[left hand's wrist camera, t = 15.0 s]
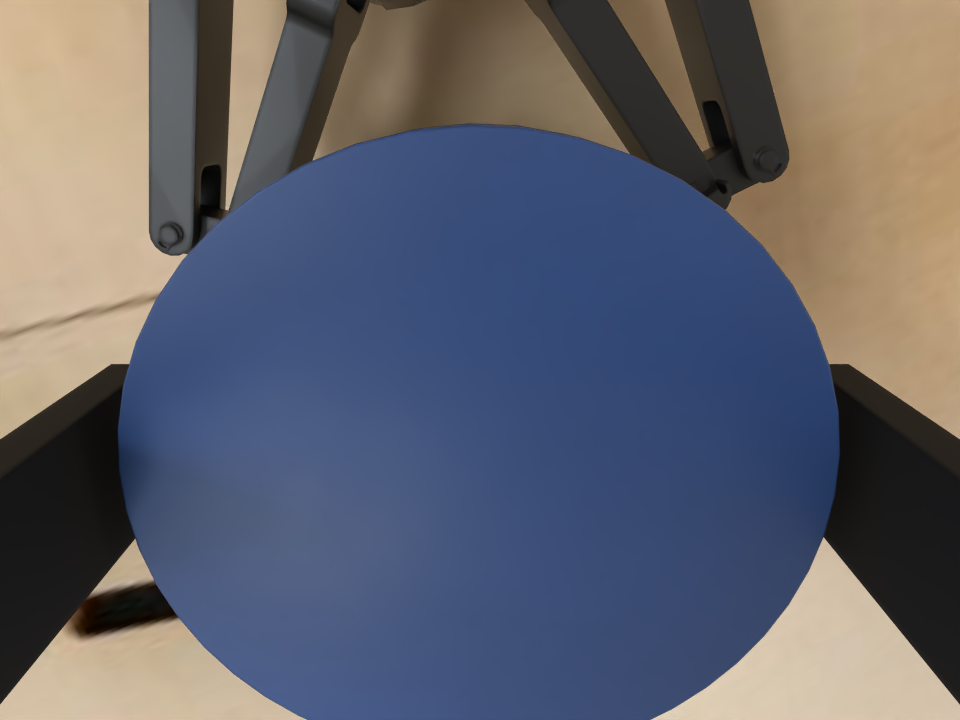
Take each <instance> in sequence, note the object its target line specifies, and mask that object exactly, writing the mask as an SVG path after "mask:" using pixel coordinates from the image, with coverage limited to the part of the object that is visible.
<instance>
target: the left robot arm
mask: <svg viewBox="0 0 960 720" xmlns="http://www.w3.org/2000/svg"><path fill="white" fill-rule="evenodd" d="M829 366H830V370H831V375H832V380H833V386H834V391H835V396H836V401H837V406H838V413H839V442H840V457H839V466H838V475H837V483H836V492H835V497H834V501H833V505H832V508H831V512H830V516H829V519H828V523H827V527H826V531H825V534H824V538H825V539H826V541H827V542H828V543H829V544H830V545H831V547H832V548H833V549H834V550H835V552H836V553H837V554H838V555H839V556H840V558H841V559H842V560H843V561H844V563H845V564H846V565H847V566H848V568H849V569H850V570H851V571H852V572H853V574H854V575H855V576H856V577H857V579H858V580H859V581H860V582H861V584H862V585H863V586H864V587H865V588H866V590H867V591H868V592H869V593H870V595H871V596H872V597H873V598H874V599H875V601H876V602H877V603H878V604H879V606H880V607H881V608H882V609H883V611H884V612H885V613H886V614H887V615H888V617H889V618H890V619H891V620H892V622H893V623H894V624H895V625H896V627H897V628H898V629H899V630H900V631H901V633H902V634H903V635H904V636H905V638H906V639H907V640H908V641H909V642H910V644H911V645H912V646H913V647H914V649H915V650H916V651H917V652H918V654H919V655H920V656H921V657H922V658H923V660H924V661H925V662H926V663H927V665H928V666H929V667H930V668H931V670H932V671H933V672H934V673H935V674H936V676H937V677H938V678H939V679H940V681H941V682H942V683H943V684H944V686H945V687H946V688H947V689H948V690H949V692H950V693H951V694H952V695H953V697H954V698H955V699H956V700H957V701H958V703H959V704H960V439H958V438H957V437H955V436H954V435H952V434H951V433H949V432H948V431H946V430H945V429H944V428H942V427H941V426H939V425H938V424H936V423H935V422H933V421H932V420H930V419H929V418H927V417H926V416H924V415H923V414H921V413H920V412H918V411H917V410H915V409H914V408H913V407H911V406H910V405H908V404H907V403H905V402H904V401H902V400H901V399H899V398H898V397H896V396H895V395H893V394H892V393H890V392H889V391H887V390H886V389H884V388H883V387H881V386H880V385H879V384H877V383H876V382H874V381H873V380H871V379H870V378H868V377H867V376H865V375H864V374H862V373H861V372H859V371H858V370H856V369H855V368H853V367H852V366H850V365H849V364H829ZM128 368H129V364H111V365H110V366H108V367H107V368H105V369H104V370H102V371H101V372H99V373H98V374H96V375H95V376H93V377H92V378H90V379H89V380H87V381H86V382H84V383H83V384H81V385H80V386H79V387H77V388H76V389H74V390H73V391H71V392H70V393H68V394H67V395H65V396H64V397H62V398H61V399H59V400H58V401H56V402H55V403H53V404H52V405H50V406H49V407H47V408H46V409H45V410H43V411H42V412H40V413H39V414H37V415H36V416H34V417H33V418H31V419H30V420H28V421H27V422H25V423H24V424H22V425H21V426H19V427H18V428H16V429H15V430H14V431H12V432H11V433H9V434H8V435H6V436H5V437H3V438H2V439H0V704H1V703H2V701H3V700H4V699H5V698H6V697H7V695H8V694H9V693H10V692H11V690H12V689H13V688H14V687H15V686H16V684H17V683H18V682H19V681H20V679H21V678H22V677H23V676H24V674H25V673H26V672H27V671H28V670H29V668H30V667H31V666H32V665H33V663H34V662H35V661H36V660H37V658H38V657H39V656H40V655H41V654H42V652H43V651H44V650H45V649H46V647H47V646H48V645H49V644H50V642H51V641H52V640H53V639H54V638H55V636H56V635H57V634H58V633H59V631H60V630H61V629H62V628H63V627H64V625H65V624H66V623H67V622H68V620H69V619H70V618H71V617H72V615H73V614H74V613H75V612H76V611H77V609H78V608H79V607H80V606H81V604H82V603H83V602H84V601H85V599H86V598H87V597H88V596H89V595H90V593H91V592H92V591H93V590H94V588H95V587H96V586H97V585H98V584H99V582H100V581H101V580H102V579H103V577H104V576H105V575H106V574H107V572H108V571H109V570H110V569H111V568H112V566H113V565H114V564H115V563H116V561H117V560H118V559H119V558H120V556H121V555H122V554H123V553H124V552H125V550H126V549H127V548H128V547H129V545H130V544H131V543H132V542H133V541H134V539H135V536H134V533H133V529H132V526H131V523H130V520H129V517H128V514H127V511H126V506H125V501H124V495H123V490H122V484H121V478H120V473H119V450H118V424H119V416H120V408H121V400H122V392H123V385H124V381H125V378H126V374H127V371H128Z"/></svg>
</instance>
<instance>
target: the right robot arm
mask: <svg viewBox="0 0 960 720" xmlns="http://www.w3.org/2000/svg"><path fill="white" fill-rule="evenodd" d="M423 1H425V0H287V2H286V4H287V17H286V21H285V25H284V28H283V32H282V35H281V38H280V41H279V45H278V48H277V51H276V55H275V58H274V61H273V65H272V68H271V71H270V75H269V78H268V81H267V85H266V88H265V91H264V95H263V98H262V101H261V105H260V108H259V111H258V115H257V118H256V121H255V125H254V128H253V131H252V135H251V138H250V141H249V145H248V148H247V151H246V155H245V158H244V161H243V164H242V168H241V171H240V174H239V178H238V181H237V184H236V188H235V191H234V194H233V198H232V201H231V204H230V208H229V211H228V210H225V201H226V176H227V151H228V126H229V101H230V76H231V51H232V25H233V0H149V233H150V238H151V240H152V242H153V244H154V245H155V247H156V248H158V249H159V250H160V251H161V252H162V253H165V254H168V255H171V256H176V255H181V254H183V253H185V254H189V253H190V252H191V251H192V250H193V248H194V247H195V246H196V245H197V244H198V243H199V242H200V241H201V240H202V239H203V238H204V237H205V236H206V235H207V233H208V232H209V231H210V230H211V229H212V228H213V227H214V226H215V225H216V224H217V223H218V222H219V221H221V220H222V219H223V218H224V217H226V216H227V215H228V214H229V213H231V212H232V211H233V210H234V209H236V208H237V207H238V206H239V205H241V204H242V203H243V202H245V201H246V200H247V199H248V198H250V197H251V196H252V195H253V194H255V193H256V192H257V191H259V190H261V189H262V188H264V187H266V186H267V185H269V184H271V183H273V182H274V181H276V180H278V179H280V178H281V177H283V176H285V175H287V174H288V173H290V172H292V171H293V170H295V169H297V168H299V167H300V166H302V165H304V164H306V163H309V162H311V161H312V160H313V157H314V154H315V151H316V148H317V145H318V142H319V139H320V137H321V134H322V131H323V128H324V125H325V122H326V119H327V116H328V113H329V110H330V107H331V104H332V101H333V98H334V95H335V92H336V89H337V86H338V83H339V80H340V77H341V74H342V71H343V68H344V65H345V62H346V59H347V56H348V53H349V51H350V48H351V46H352V44H353V43H354V41H355V40H356V38H357V36H358V34H359V31H360V29H361V26H362V23H363V20H364V17H365V14H366V11H367V8H368V5H369V2H371V3H374V4H377V5H383V7H384V8H385V9H386V10H388V9H395V8H403V7H410V6H414V5H417V4H419V3H421V2H423ZM525 1H526V2H527V4H528V5H529V7H530V8H531V10H532V11H533V12H534V13H535V15H536V16H538V17H539V18H540V20H541V21H542V22H543V23H544V25H545V26H546V28H547V29H548V31H549V32H550V34H551V35H552V37H553V38H554V40H555V41H556V43H557V44H558V46H559V47H560V49H561V50H562V52H563V53H564V55H565V57H566V58H567V60H568V61H569V63H570V64H571V66H572V67H573V69H574V70H575V72H576V73H577V75H578V76H579V78H580V79H581V81H582V82H583V84H584V85H585V87H586V88H587V90H588V91H589V93H590V94H591V96H592V97H593V99H594V100H595V102H596V103H597V105H598V106H599V108H600V109H601V111H602V112H603V114H604V115H605V117H606V118H607V120H608V121H609V123H610V124H611V126H612V127H613V129H614V130H615V132H616V133H617V135H618V136H619V138H620V139H621V141H622V142H623V144H624V145H625V147H626V148H627V150H628V152H629V153H630V154H631V155H634V156H636V157H638V158H639V159H641V160H643V161H645V162H647V163H649V164H651V165H653V166H655V167H657V168H659V169H661V170H663V171H665V172H667V173H669V174H671V175H673V176H675V177H677V178H679V179H681V180H683V181H684V182H686V183H687V184H689V185H690V186H692V187H693V188H694V189H696V190H697V191H699V192H700V193H702V194H703V195H704V196H706V197H707V198H709V199H710V200H712V201H713V202H714V203H716V204H717V205H719V206H720V207H722V208H723V209H724V210H725V209H726V208H727V207H728V205H729V203H730V200H731V196H732V195H734V194H736V193H738V192H740V191H742V190H744V189H746V188H748V187H750V186H752V185H754V184H756V183H758V182H762V183H765V182H770V181H773V180H775V179H776V178H778V177H779V176H781V174H782V173H783V172H784V170H785V169H786V168H787V164H788V161H789V149H788V145H787V142H786V138H785V134H784V130H783V127H782V123H781V119H780V115H779V112H778V108H777V104H776V100H775V97H774V93H773V89H772V85H771V82H770V78H769V74H768V70H767V66H766V63H765V59H764V55H763V51H762V48H761V44H760V40H759V36H758V33H757V29H756V25H755V21H754V18H753V14H752V10H751V6H750V3H749V0H665V2H666V5H667V9H668V12H669V15H670V18H671V22H672V25H673V28H674V31H675V35H676V38H677V41H678V44H679V48H680V51H681V54H682V58H683V61H684V64H685V67H686V71H687V74H688V77H689V80H690V84H691V87H692V90H693V93H694V97H695V100H696V103H697V106H698V110H699V113H700V116H701V120H702V123H703V126H704V129H705V133H706V136H707V139H708V142H709V146H710V148H709V149H707V150H705V151H703V152H702V151H701V150H700V148H699V146H698V145H697V143H696V142H695V140H694V138H693V137H692V135H691V134H690V132H689V130H688V129H687V127H686V126H685V124H684V122H683V121H682V119H681V118H680V116H679V114H678V113H677V111H676V110H675V108H674V107H673V105H672V103H671V102H670V100H669V99H668V97H667V95H666V94H665V92H664V91H663V89H662V87H661V86H660V84H659V83H658V81H657V79H656V78H655V76H654V75H653V73H652V71H651V70H650V68H649V67H648V65H647V63H646V62H645V60H644V59H643V57H642V55H641V54H640V52H639V51H638V49H637V47H636V46H635V44H634V43H633V41H632V39H631V38H630V36H629V35H628V33H627V31H626V30H625V28H624V27H623V25H622V23H621V22H620V20H619V19H618V17H617V15H616V14H615V12H614V11H613V9H612V7H611V6H610V4H609V3H608V1H607V0H525Z"/></svg>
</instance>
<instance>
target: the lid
mask: <svg viewBox="0 0 960 720" xmlns="http://www.w3.org/2000/svg"><path fill="white" fill-rule="evenodd" d="M118 450H119V473H120V478H121V484H122V490H123V495H124V501H125V506H126V511H127V514H128V517H129V520H130V523H131V526H132V529H133V533H134V536H135V539H136V542H137V545H138V548H139V550H140V552H141V554H142V556H143V558H144V560H145V562H146V564H147V566H148V568H149V570H150V572H151V574H152V576H153V578H154V580H155V582H156V585H157V586H158V588H159V589H160V591H161V592H162V594H163V595H164V597H165V598H166V600H167V601H168V603H169V604H170V606H171V607H172V608H173V610H174V611H175V613H176V614H177V616H178V617H179V619H180V620H181V621H182V622H183V623H184V624H185V626H186V627H187V628H188V629H189V630H190V631H191V633H192V634H193V635H194V636H195V637H196V638H197V639H198V641H199V642H200V643H201V644H202V645H203V646H204V647H205V648H206V649H207V650H208V651H209V652H210V653H211V654H212V655H213V656H214V657H216V658H217V659H218V660H219V661H220V662H221V663H222V664H223V665H224V666H225V667H227V668H228V669H229V670H230V671H231V672H232V673H233V674H234V675H236V676H237V677H239V678H240V679H241V680H243V681H244V682H245V683H247V684H248V685H250V686H251V687H252V688H254V689H255V690H257V691H258V692H259V693H261V694H262V695H263V696H265V697H267V698H268V699H270V700H272V701H274V702H275V703H277V704H279V705H281V706H282V707H284V708H286V709H288V710H289V711H291V712H293V713H295V714H296V715H298V716H300V717H302V718H305V719H307V720H651V719H653V718H655V717H657V716H659V715H661V714H663V713H665V712H667V711H669V710H671V709H673V708H675V707H676V706H678V705H680V704H681V703H683V702H684V701H686V700H688V699H689V698H691V697H692V696H694V695H695V694H697V693H699V692H700V691H702V690H703V689H705V688H707V687H708V686H709V685H710V684H712V683H713V682H714V681H715V680H717V679H718V678H719V677H720V676H722V675H723V674H724V673H725V672H727V671H728V670H729V669H730V668H732V667H733V666H734V665H735V664H737V663H738V662H739V661H740V660H741V659H742V658H743V657H744V656H745V655H746V654H747V653H748V652H749V651H750V650H751V649H752V648H753V647H754V646H755V645H756V644H757V643H758V642H759V641H760V640H761V639H762V638H763V637H764V636H765V634H766V633H767V632H768V631H769V629H770V628H771V627H772V625H773V624H774V623H775V622H776V620H777V619H778V618H779V617H780V615H781V614H782V613H783V611H784V610H785V609H786V608H787V606H788V605H789V603H790V602H791V600H792V598H793V597H794V595H795V593H796V592H797V590H798V588H799V587H800V585H801V583H802V582H803V580H804V578H805V577H806V575H807V573H808V571H809V569H810V567H811V565H812V562H813V560H814V558H815V555H816V553H817V551H818V548H819V546H820V544H821V541H822V539H823V537H824V534H825V531H826V527H827V523H828V519H829V516H830V512H831V508H832V505H833V501H834V497H835V492H836V483H837V475H838V466H839V457H840V442H839V413H838V406H837V401H836V396H835V391H834V386H833V380H832V375H831V370H830V366H829V363H828V360H827V358H826V355H825V352H824V349H823V347H822V344H821V341H820V338H819V336H818V333H817V330H816V327H815V325H814V323H813V321H812V319H811V317H810V316H809V314H808V312H807V310H806V308H805V306H804V305H803V303H802V301H801V299H800V297H799V296H798V294H797V292H796V290H795V288H794V286H793V285H792V283H791V282H790V281H789V279H788V278H787V277H786V275H785V274H784V273H783V271H782V270H781V269H780V268H779V266H778V265H777V264H776V262H775V261H774V260H773V259H772V257H771V256H770V255H769V253H768V252H767V251H766V249H765V248H764V247H763V246H762V245H761V244H760V243H759V242H758V241H757V240H756V239H755V238H754V237H753V236H752V235H751V234H750V233H749V232H748V231H747V230H746V229H745V228H744V227H743V226H741V225H740V224H739V223H738V222H737V221H736V220H735V219H734V218H733V217H732V216H731V215H730V214H729V213H728V212H727V211H726V210H724V209H723V208H722V207H720V206H719V205H717V204H716V203H714V202H713V201H712V200H710V199H709V198H707V197H706V196H704V195H703V194H702V193H700V192H699V191H697V190H696V189H694V188H693V187H692V186H690V185H689V184H687V183H686V182H684V181H683V180H681V179H679V178H677V177H675V176H673V175H671V174H669V173H667V172H665V171H663V170H661V169H659V168H657V167H655V166H653V165H651V164H649V163H647V162H645V161H643V160H641V159H639V158H638V157H636V156H634V155H631V154H628V153H625V152H622V151H619V150H616V149H613V148H610V147H607V146H604V145H601V144H598V143H595V142H592V141H589V140H586V139H583V138H579V137H575V136H571V135H566V134H561V133H556V132H550V131H545V130H539V129H534V128H528V127H523V126H518V125H495V124H471V123H469V124H458V125H448V126H438V127H428V128H420V129H415V130H411V131H407V132H403V133H399V134H395V135H390V136H386V137H382V138H378V139H374V140H370V141H366V142H361V143H357V144H354V145H352V146H349V147H347V148H344V149H341V150H339V151H336V152H334V153H331V154H329V155H326V156H324V157H321V158H319V159H316V160H314V161H311V162H309V163H306V164H304V165H302V166H300V167H299V168H297V169H295V170H293V171H292V172H290V173H288V174H287V175H285V176H283V177H281V178H280V179H278V180H276V181H274V182H273V183H271V184H269V185H267V186H266V187H264V188H262V189H261V190H259V191H257V192H256V193H255V194H253V195H252V196H251V197H250V198H248V199H247V200H246V201H245V202H243V203H242V204H241V205H239V206H238V207H237V208H236V209H234V210H233V211H232V212H231V213H229V214H228V215H227V216H226V217H224V218H223V219H222V220H221V221H219V222H218V223H217V224H216V225H215V226H214V227H213V228H212V229H211V230H210V231H209V232H208V233H207V235H206V236H205V237H204V238H203V239H202V240H201V241H200V242H199V243H198V244H197V245H196V246H195V247H194V248H193V250H192V251H191V252H190V253H189V254H188V255H187V256H186V257H185V258H184V259H183V260H182V262H181V263H180V265H179V266H178V268H177V269H176V271H175V272H174V274H173V275H172V277H171V278H170V280H169V281H168V282H167V284H166V285H165V287H164V288H163V290H162V291H161V293H160V294H159V296H158V297H157V299H156V300H155V302H154V305H153V307H152V309H151V311H150V313H149V315H148V317H147V319H146V322H145V324H144V326H143V328H142V330H141V332H140V334H139V336H138V339H137V341H136V343H135V347H134V350H133V354H132V357H131V361H130V364H129V368H128V371H127V374H126V378H125V381H124V385H123V392H122V400H121V408H120V416H119V424H118Z"/></svg>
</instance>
